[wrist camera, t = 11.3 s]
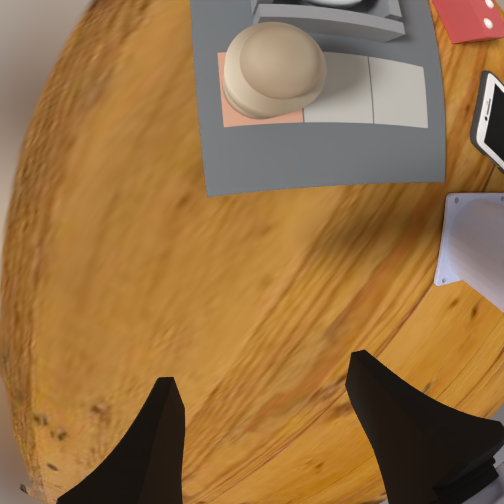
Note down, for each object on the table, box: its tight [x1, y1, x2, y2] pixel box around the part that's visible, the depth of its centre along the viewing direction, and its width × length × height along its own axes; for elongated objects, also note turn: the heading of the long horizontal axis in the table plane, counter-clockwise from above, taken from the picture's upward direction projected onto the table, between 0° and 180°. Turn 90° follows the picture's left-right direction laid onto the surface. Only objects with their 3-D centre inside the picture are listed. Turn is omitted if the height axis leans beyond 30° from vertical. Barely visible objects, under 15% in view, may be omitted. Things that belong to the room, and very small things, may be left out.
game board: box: [190, 0, 446, 197], centre depth 13 cm, size 16×18×4 cm
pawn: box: [222, 22, 327, 120], centre depth 11 cm, size 4×4×7 cm
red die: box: [432, 0, 504, 44], centre depth 11 cm, size 4×4×4 cm
